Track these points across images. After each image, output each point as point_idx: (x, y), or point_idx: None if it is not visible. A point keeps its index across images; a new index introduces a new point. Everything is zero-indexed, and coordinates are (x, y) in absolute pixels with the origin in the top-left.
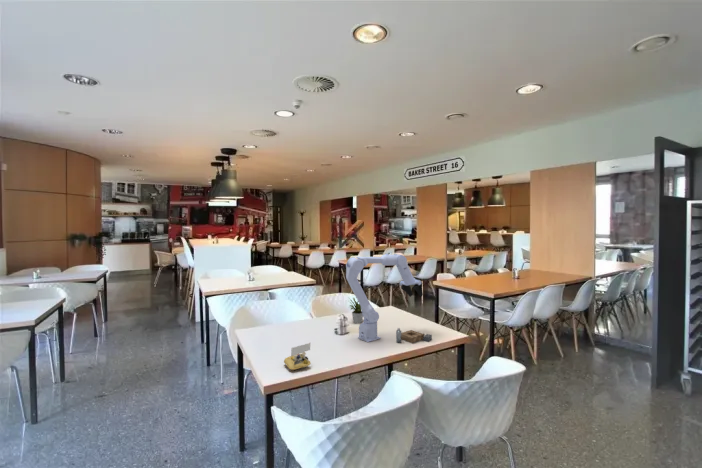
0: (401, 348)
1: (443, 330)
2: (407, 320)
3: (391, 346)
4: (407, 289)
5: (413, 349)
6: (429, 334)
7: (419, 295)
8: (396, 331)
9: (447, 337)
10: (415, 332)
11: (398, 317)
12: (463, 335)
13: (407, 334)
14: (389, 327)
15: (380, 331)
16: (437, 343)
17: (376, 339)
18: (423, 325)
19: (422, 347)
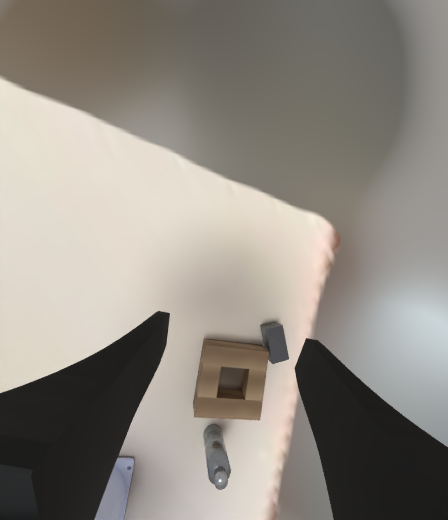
0: (251, 472)
1: (258, 213)
2: (79, 179)
3: None
4: (118, 434)
5: (283, 446)
6: (275, 327)
7: (306, 390)
8: (213, 482)
9: (301, 270)
10: (235, 359)
11: (13, 160)
12: (325, 221)
13: (226, 403)
14: (73, 316)
15: None
16: None
17: (129, 484)
18: (174, 203)
19: (293, 409)
